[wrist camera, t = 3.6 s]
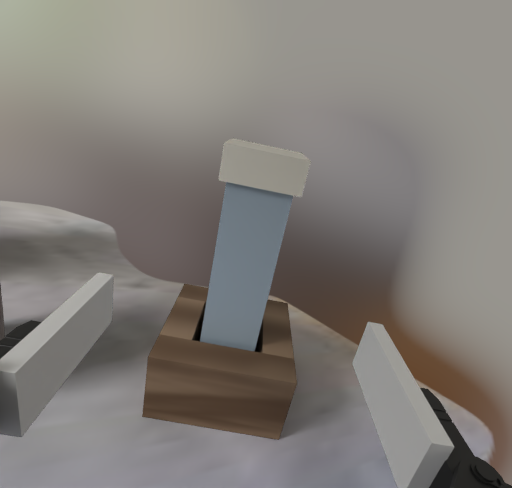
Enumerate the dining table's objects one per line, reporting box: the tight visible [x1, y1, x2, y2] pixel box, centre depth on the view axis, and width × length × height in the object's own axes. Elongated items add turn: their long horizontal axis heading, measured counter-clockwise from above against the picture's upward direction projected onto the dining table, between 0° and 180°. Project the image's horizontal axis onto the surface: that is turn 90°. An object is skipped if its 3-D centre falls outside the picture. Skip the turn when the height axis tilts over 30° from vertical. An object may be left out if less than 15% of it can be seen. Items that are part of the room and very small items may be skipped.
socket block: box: [142, 284, 297, 440], centre depth 29 cm, size 11×11×6 cm
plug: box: [200, 139, 311, 352], centre depth 26 cm, size 6×6×20 cm
